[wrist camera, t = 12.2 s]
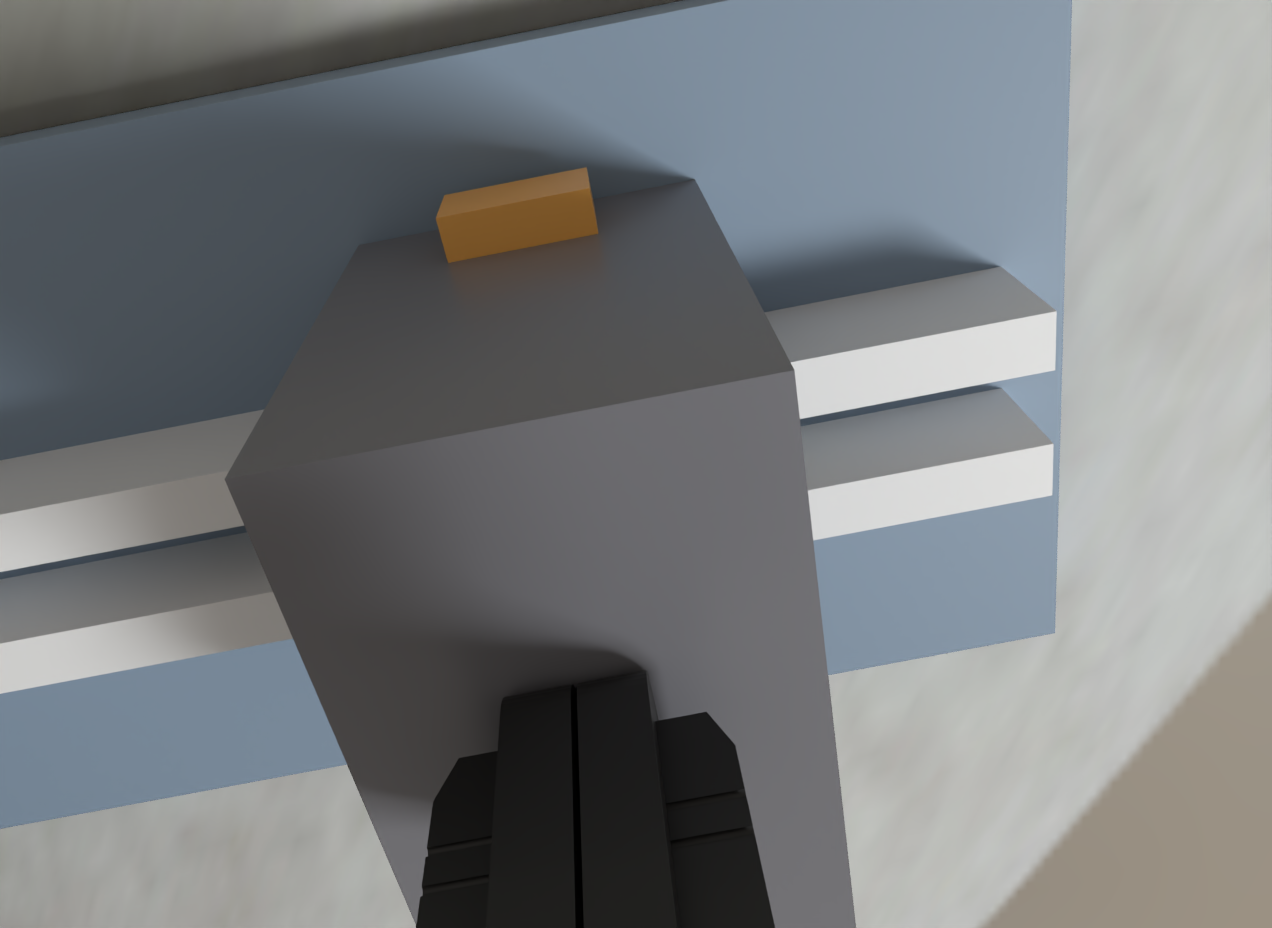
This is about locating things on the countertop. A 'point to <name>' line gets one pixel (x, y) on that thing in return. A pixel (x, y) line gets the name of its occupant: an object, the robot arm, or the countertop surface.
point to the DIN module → (552, 507)
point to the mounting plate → (408, 204)
